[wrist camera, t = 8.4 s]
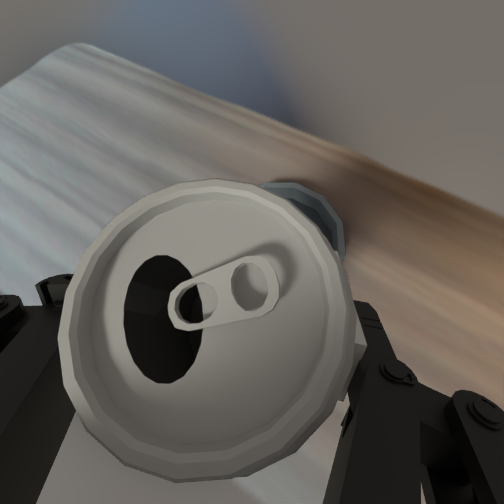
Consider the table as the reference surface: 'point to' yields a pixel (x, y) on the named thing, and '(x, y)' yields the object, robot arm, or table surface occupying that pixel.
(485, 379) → the table surface
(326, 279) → the can
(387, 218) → the table surface
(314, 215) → the dish
